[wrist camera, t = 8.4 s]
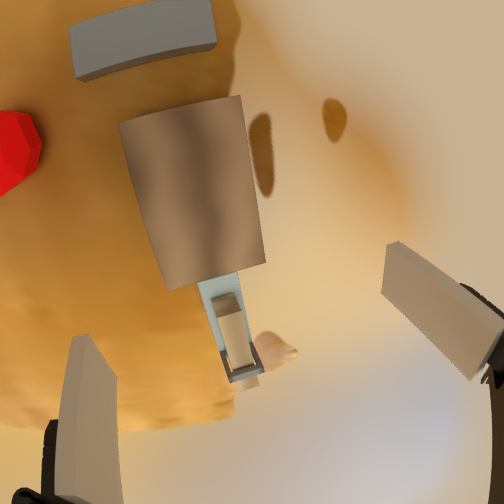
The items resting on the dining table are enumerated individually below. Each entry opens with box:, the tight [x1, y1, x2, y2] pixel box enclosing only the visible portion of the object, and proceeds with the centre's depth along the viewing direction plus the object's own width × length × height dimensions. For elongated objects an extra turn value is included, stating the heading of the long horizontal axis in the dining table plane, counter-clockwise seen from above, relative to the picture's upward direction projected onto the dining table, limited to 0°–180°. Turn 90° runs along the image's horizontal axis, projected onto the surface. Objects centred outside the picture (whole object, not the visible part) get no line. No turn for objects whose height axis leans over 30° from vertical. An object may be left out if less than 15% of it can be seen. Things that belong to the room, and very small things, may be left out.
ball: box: [0, 110, 42, 197], centre depth 20 cm, size 8×8×8 cm
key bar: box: [211, 293, 259, 392], centre depth 31 cm, size 2×12×3 cm, turn 8°
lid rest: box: [69, 0, 217, 82], centre depth 22 cm, size 14×6×4 cm, turn 98°
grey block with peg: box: [197, 271, 265, 383], centre depth 33 cm, size 4×12×13 cm, turn 8°
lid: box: [118, 95, 266, 291], centre depth 25 cm, size 10×16×2 cm, turn 8°
